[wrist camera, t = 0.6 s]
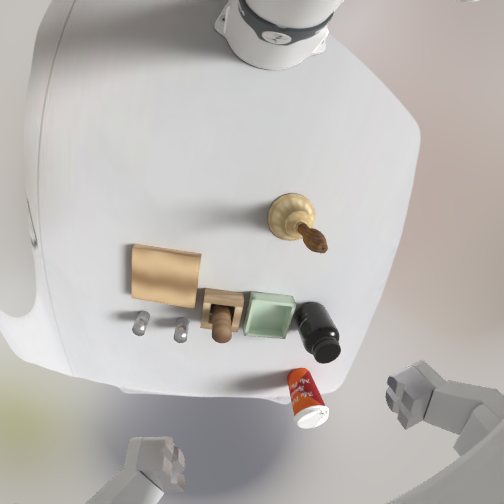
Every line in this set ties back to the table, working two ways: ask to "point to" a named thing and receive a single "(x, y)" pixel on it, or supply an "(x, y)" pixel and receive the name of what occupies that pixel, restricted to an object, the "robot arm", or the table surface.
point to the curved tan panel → (165, 275)
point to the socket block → (222, 299)
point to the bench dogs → (180, 329)
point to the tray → (268, 315)
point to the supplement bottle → (318, 332)
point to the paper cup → (306, 399)
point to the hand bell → (296, 221)
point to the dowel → (221, 323)
